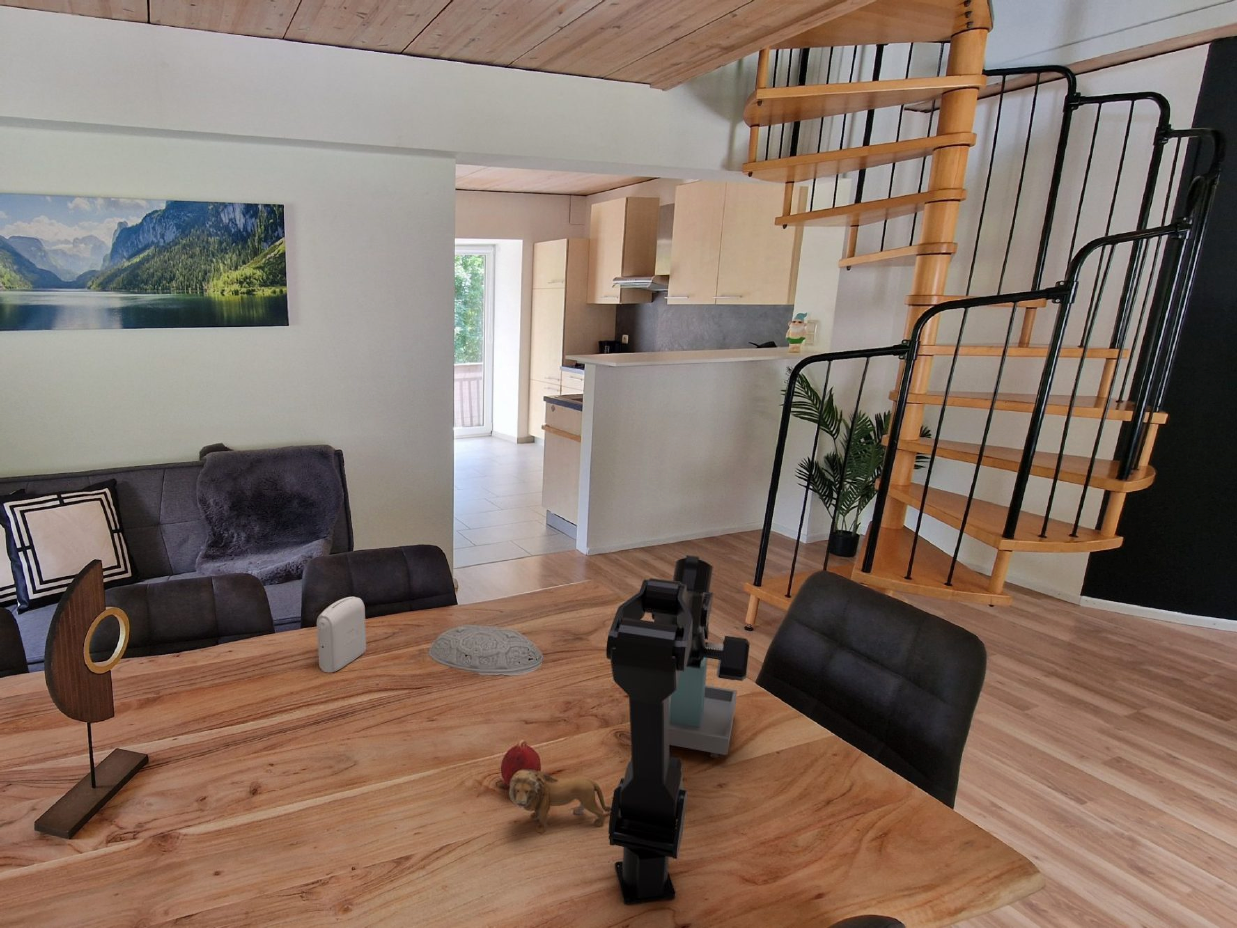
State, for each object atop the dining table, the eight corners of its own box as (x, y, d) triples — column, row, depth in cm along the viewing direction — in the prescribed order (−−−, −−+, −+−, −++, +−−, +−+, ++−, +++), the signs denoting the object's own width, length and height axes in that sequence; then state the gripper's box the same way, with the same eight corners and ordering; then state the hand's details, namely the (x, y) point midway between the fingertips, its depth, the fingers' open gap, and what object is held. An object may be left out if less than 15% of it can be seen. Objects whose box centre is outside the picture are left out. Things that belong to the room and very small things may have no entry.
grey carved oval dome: (534, 680, 140) (534, 646, 140) (410, 669, 145) (409, 635, 144) (556, 651, 155) (556, 620, 155) (444, 641, 160) (443, 611, 159)
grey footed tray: (726, 766, 117) (728, 739, 116) (631, 748, 121) (633, 722, 120) (734, 714, 132) (737, 690, 131) (650, 700, 135) (651, 676, 134)
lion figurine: (512, 846, 99) (513, 786, 97) (504, 819, 104) (505, 762, 102) (617, 824, 104) (620, 767, 102) (605, 799, 109) (607, 744, 107)
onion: (533, 805, 107) (534, 756, 105) (494, 798, 108) (495, 749, 106) (545, 780, 113) (546, 733, 111) (508, 774, 114) (509, 727, 112)
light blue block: (699, 727, 123) (703, 665, 120) (669, 721, 124) (673, 660, 121) (703, 711, 127) (708, 651, 125) (674, 706, 129) (678, 647, 126)
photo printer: (334, 675, 140) (331, 613, 137) (315, 670, 141) (312, 609, 138) (369, 651, 149) (367, 593, 146) (352, 647, 150) (349, 589, 148)
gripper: (754, 593, 114) (752, 629, 127) (634, 577, 118) (645, 614, 131) (745, 664, 108) (745, 695, 121) (620, 645, 113) (633, 676, 126)
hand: (691, 667), depth 125 cm, fingers open, 9 cm apart
